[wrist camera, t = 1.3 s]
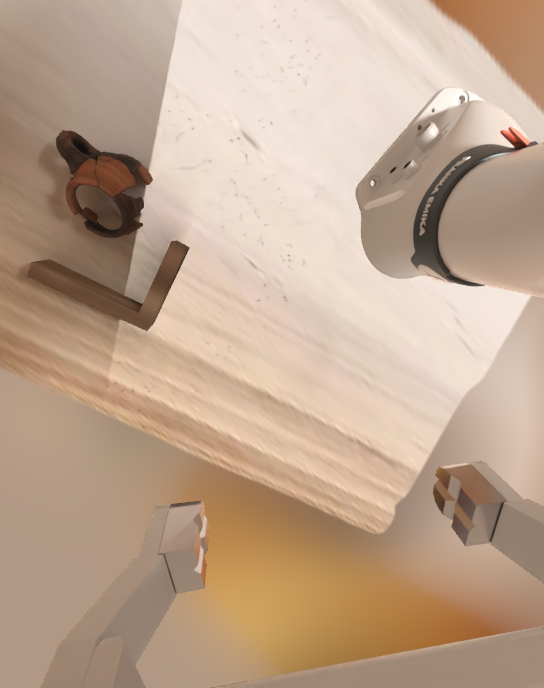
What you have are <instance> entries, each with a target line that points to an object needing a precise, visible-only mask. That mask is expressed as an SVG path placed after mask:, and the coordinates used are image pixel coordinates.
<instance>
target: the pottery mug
mask: <svg viewBox="0 0 544 688" xmlns="http://www.w3.org/2000/svg"><path fill="white" fill-rule="evenodd" d="M56 145H57V149H58V151H59V153H60V154H61V156H62V157H63V158H64V159H65V161H66V162H67V164H68V165H69V168H70V173H71V174H74V179H73V178H71V179H70V182H69V184H68V186H67V189H66V198H67V202H68V205H69V207H70V209H71V211H72V212H73V214H74V215H77V214H78V213H80V214H81V215H82V216H83V218H84V219H86V220H87V221H85V222H84V224H85V226H86V228H87V229H89V230H90V231H92V232H93V233H96V234H98V235H100V236H103V237H108V238H111V237H112V238H117V237H120V236H122V235H128V234H130V233H132V232H133V231H135V230H137V229H139V228H140V227H141V226H143V223H139V222H137V221H135V220H133V219H134V218H136V217H137V216H138V215H139V214H140V212H141V210H142V209H143V208H144V201H143V198H141V197H140V198H137V199H136V198H134V197H130V196H127V195H125V194H123V193H122V192H123V191H125V190H126V189H128V188H130V187H133V186H134V185H135V178H134V177H133V174H134V172H135V171H137V173H138V174H139V175H140V176H141V178H142V179H143V181H144V182H145V184H146V185H149V184H150V183H151V182H152V181H153V179H152V177H151V175H150V173H149V172H148V170H147V169H146V168H145V167H144V166H143V165H142V164H141V163H140V162H139V161H137V160H136V159H134V158H133V157H130V156H128V155H124V154H114V153H107V152H102V153H101V152H100V151H98V150H96V149H95V148H94V147H93V146H91V145H90V144H89V143H88V142H87V141H86V140H85V139H84V138H83V137H82V136H80V135H79V134H77V133H75V132H73V131H64V130H63V131H62V132H61V133H60V134H59V136H58V137H57V138H56ZM83 184H87V185H92V186H95V187H98V188H100V189H101V190H103V191H104V192H106V193H107V194H108V195H109V196H110V197H111V198H113V199H114V201H115V202H116V204H117V205H118V207H119V209H120V211H121V214H122V225H121V227H120V228H119V229H116V230H110V229H106V228H104V227H103V226H102V225H100V224H99V223H98V222H97V218H98V216H97V214H96V213H94V212H93V211H92V210H90V209H89V208H87V207H86V208H84V209H83V210H82V208H81V207H80V205H79V203H78V201H77V198H76V189H77V188H78V186H80V185H83Z"/></svg>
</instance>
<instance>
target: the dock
mask: <svg viewBox="0 0 544 688" xmlns="http://www.w3.org/2000/svg"><path fill="white" fill-rule="evenodd" d="M188 250H189V247H188V246H186V245H184V244H182V243H180V242H179V241H177V240H176V241H171V243H170V245H169V247H168V250H167V252H166V254H165V256H164V258H163V261H162V263H161V265H160V267H159V269H158V272H157V274H156V276H155V278H154V281H153V283H152V285H151V287H150V289H149V292H148V294H147V296H146V298H145V300H144V303H143V304H141V303H139V302H137V301H135V300H133V299H131V298H128V297H126V296H124V295H122V294H120V293H118V292H116V291H114V290H112V289H110V288H108V287H106V286H104V285H102V284H99V283H97V282H95V281H93V280H91V279H89V278H87V277H85V276H83V275H81V274H79V273H77V272H75V271H73V270H70V269H68V268H66V267H64V266H62V265H60V264H58V263H56V262H54V261H52V260H50V259H49V260H43V261H37V262H32V263H31V266H30V269H29V272H28V275H27V276H28V277H30V278H32V279H35V280H37V281H39V282H41V283H43V284H45V285H48V286H50V287H52V288H54V289H56V290H59V291H61V292H63V293H65V294H67V295H69V296H72V297H74V298H76V299H78V300H80V301H82V302H85V303H87V304H89V305H91V306H93V307H96V308H98V309H100V310H102V311H104V312H106V313H109V314H111V315H113V316H115V317H117V318H119V319H122V320H124V321H126V322H128V323H130V324H133V325H135V326H137V327H139V328H141V329H143V330H146V331H148V329H149V328H150V327H151V326H152V325H153V324H154V322H155V320H156V318H157V316H158V313H159V311H160V309H161V307H162V305H163V303H164V301H165V299H166V297H167V294H168V292H169V290H170V288H171V286H172V284H173V282H174V280H175V278H176V275H177V273H178V271H179V269H180V267H181V265H182V263H183V261H184V259H185V256H186V254H187V252H188Z"/></svg>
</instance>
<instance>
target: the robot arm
mask: <svg viewBox="0 0 544 688" xmlns="http://www.w3.org/2000/svg"><path fill="white" fill-rule="evenodd" d="M459 98H460V99H461V104H459V102H458V99H459ZM371 180H373V181H374V183H375V184H374V186H373V187H372V186H371V184H370V183H371ZM356 199H357V202H358V205H359V208H360V211H361V239H362V244H363V248H364V251H365V253H366V256H367V257H368V259H369V261H370V262H371V263H372V265H373V266H374V267H375V268H376V269H377V270H379V271H380V272H381V273H383V274H385V275H387V276H390V277H393V278H399V279H407V278H413V277H417V276H428V277H430V278H433V279H436V280H439V281H443V282H447V283H456V284H462V285H468V286H485V285H487V286H492V287H496V288H501V289H505V290H510V291H514V292H519V293H523V294H528V295H532V296H537V297H544V142H543V143H540V144H538V143H537V142H535V141H534V142H529V140H528V138H527V136H526V135H525V133H524V132H523V130H522V129H521V128H520V126H519V125H518V124H517V123H516V122H515V121H514V119H513V118H511V117H510V116H509V115H508V114H507V113H506V112H504V111H503V110H502V109H500V108H499V107H497V106H495V105H493V104H491V103H489V102H486V101H484V100H483V99H482V98H480V97H479V96H477V95H475V94H474V93H472V92H470V91H467V90H465V89H461V88H454V87H448V88H444V89H442V90H440V91H438V92H437V93H436V94H435V95H434V96H433V97H432V98H431V100H430V101H429V102H428V103H427V104H426V105H425V107H424V108H423V109H422V110H421V111H420V112H419V114H418V115H417V116H416V117H415V118H414V119H413V121H412V122H411V123H410V124H409V125H408V127H407V128H406V129H405V130H404V131H403V132H402V134H401V135H400V136H399V137H398V138H397V139H396V141H395V142H394V143H393V144H392V145H391V146H390V148H389V149H388V150H387V151H386V152H385V153H384V155H383V156H382V157H381V158H380V159H379V160H378V162H377V163H376V164H375V165H374V166H373V168H372V169H371V170H370V171H369V172H368V173H367V175H366V176H365V177H364V178H363V179H362V180H361V182H360V183H359V184H358V186H357V188H356ZM436 476H437V478H438V479H439V480H438V481H437V482H436V483H435V484H434V488H433V495H434V499H435V502H436V504H437V506H438V508H439V510H440V511H441V513H442V514H443V515H445V516H446V517H448V518H450V519H451V527H452V528H453V530H454V531H455V532H456V534H457V535H458V537H459V538H460V539H461V541H462V542H463V544H464V545H465V546H471V545H479V544H487V543H491V545H492V546H494V547H495V548H496V549H498V550H499V551H500V552H502V553H503V554H505V555H506V556H507V557H509V558H510V559H511V560H513V561H514V562H515V563H517V564H518V565H519V566H521V567H522V568H524V569H525V570H526V571H528V572H529V573H530V574H532V575H533V576H535V577H536V578H537V579H539V580H540V581H541V582H543V583H544V506H541V505H540V504H538V503H535V502H533V501H531V500H529V499H523V498H522V497H521V496H520V495H518V494H517V493H516V492H515V491H514V490H513V489H512V488H511V487H510V486H509V485H508V484H507V483H506V482H505V481H504V480H503V479H502V478H501V477H500V476H499V475H498V474H497V473H496V472H495V471H493V469H491V468H490V467H489V466H488V465H487V464H486V463H485V462H483V461H478V462H471V463H462V464H456V465H449V466H443V467H439V468H438V469H437V472H436ZM204 510H205V507H204V503H203V501H195V502H186V503H177V504H170V505H161V506H156V507H155V508H154V510H153V512H152V515H151V518H150V522H149V525H148V529H147V532H146V535H145V539H144V542H143V546H142V549H141V553H140V556H139V558H135V559H133V560H132V561H131V563H130V564H129V565H128V566H127V567H126V568H125V569H124V571H123V572H122V573H121V574H120V575H119V576H118V577H117V579H116V580H115V581H114V582H113V583H112V585H111V586H110V587H109V588H108V589H107V590H106V591H105V593H103V595H102V596H101V597H100V598H99V599H98V600H97V601H96V603H95V604H94V605H93V606H92V607H91V608H90V610H89V611H88V612H87V613H86V614H85V615H84V616H83V618H82V619H81V620H80V621H79V622H78V623H77V625H76V626H75V627H74V628H73V629H72V630H71V631H70V633H69V634H68V635H67V636H66V637H65V638H64V639H63V641H62V642H61V643H60V644H59V646H58V648H57V650H56V653H55V655H54V657H53V660H52V662H51V664H50V667H49V669H48V672H47V674H46V676H45V679H44V681H43V683H42V686H41V688H146V687H145V685H144V683H143V681H142V679H141V676H140V674H139V672H138V670H137V668H136V666H135V665H136V663H137V662H138V660H139V658H140V656H141V655H142V653H143V651H144V650H145V648H146V646H147V645H148V643H149V641H150V639H151V638H152V636H153V634H154V633H155V631H156V629H157V628H158V626H159V624H160V622H161V621H162V619H163V617H164V616H165V614H166V612H167V610H168V609H169V607H170V605H171V604H172V602H173V600H174V599H175V597H176V594H177V593H183V592H187V591H193V590H198V589H203V588H204V587H205V576H206V566H207V564H206V560H205V556H204V555H205V554H206V552H207V551H208V543H209V530H208V521H207V518H206V517H205V516H204ZM212 688H544V626H541V627H536V628H530V629H525V630H520V631H514V632H509V633H503V634H498V635H493V636H487V637H482V638H476V639H471V640H466V641H460V642H455V643H449V644H444V645H438V646H433V647H428V648H422V649H417V650H412V651H406V652H401V653H395V654H390V655H385V656H379V657H374V658H368V659H363V660H357V661H352V662H347V663H342V664H336V665H330V666H325V667H320V668H314V669H309V670H304V671H298V672H293V673H287V674H282V675H277V676H271V677H267V678H261V679H255V680H250V681H244V682H239V683H234V684H228V685H223V686H218V687H212Z"/></svg>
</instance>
